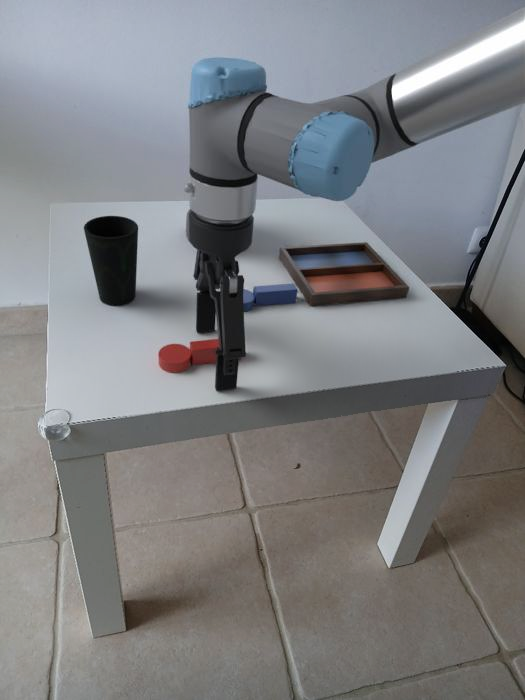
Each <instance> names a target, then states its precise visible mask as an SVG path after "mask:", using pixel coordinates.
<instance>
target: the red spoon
mask: <svg viewBox="0 0 525 700" xmlns="http://www.w3.org/2000/svg"><path fill="white" fill-rule="evenodd" d="M217 348H219V338H213V339H212V338H211V339H205V340H204V339H201V340H193V341H192V340H191V341H189V347H188V346H186V345H184V344H181V343H170V344H166V345H163V346H162V347H161V348H160V349H159V350H158V355H157V356H158V366H159V367H160V369H162V371H165V372H168V373H172V374H173V373H174V374H177V373H181V372H185V371H186V370H188V369H189V368H190V367H191V365H192V366H195V365H196V366H197V365H205V364H211V363H216V356H217V355H215V354H214V350H217ZM239 360H242V358H239Z"/></svg>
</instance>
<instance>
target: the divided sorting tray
mask: <svg viewBox="0 0 525 700" xmlns="http://www.w3.org/2000/svg"><path fill="white" fill-rule="evenodd" d="M278 252H279V253H278V259H279V261H280V262H281V263H282V265H283V267H284V268H285V269H286V271H287V273H288V274H289V276H290V277H291V279H292V280H293V283H294V284H295V286H296V287H297V289H298V290H299V291H300V293H301V294H302V296H303V297H304V299H305V300H306V302H307V303H308V305H309V307H319V306H330V305H341V304H351V303H363V302H364V303H365V302H375V301H385V300H387V301H388V300H396V299H406V298H407V296H408V294H409V290H410V286H409V285H408V284H407V283H406V282H405V281H404V280H403V279H402V278H401V276H399V274H398V273H397V272H396V271H395V270H394V269H393V268H392V267H391V266H390V265H389V264H388V263H387V262H386V261H385V260H384V259H383V258H382V257H381V256H380V255H379V253H378V252H377V251H376V250H375V249H374V248H373V247H372V246H371V245H370V243H368V242H367V241H366V242H365V241H364V242H346V243H331V244H330V243H329V244H328V243H327V244H313V245H311V244H310V245H293V246H280V247H279V251H278Z"/></svg>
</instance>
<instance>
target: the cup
mask: <svg viewBox="0 0 525 700" xmlns="http://www.w3.org/2000/svg"><path fill="white" fill-rule="evenodd" d="M83 231H84V236H85V240H86V244H87V245H86V246H87V248H88V249H87V250H88V253H89V257H90V260H91V267H92V270H93V274H94V279H95V284H96V288H97V292H98V297H99V300H100V301H101V302H102V304H105V305H107V306H112V307H121V306H125V305H129V304H131V303H132V302H134V301H135V299H136V297H137V296H136V295H137V294H136V293H137V269H138V243H139V225H138V223H137V222H136V221H135V220H133V219H131V218H128V217H124V216H120V215H103V216H98V217H95V218H92V219H90V220H88V221H87V222H86V223H85V224H84V225H83Z"/></svg>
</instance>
